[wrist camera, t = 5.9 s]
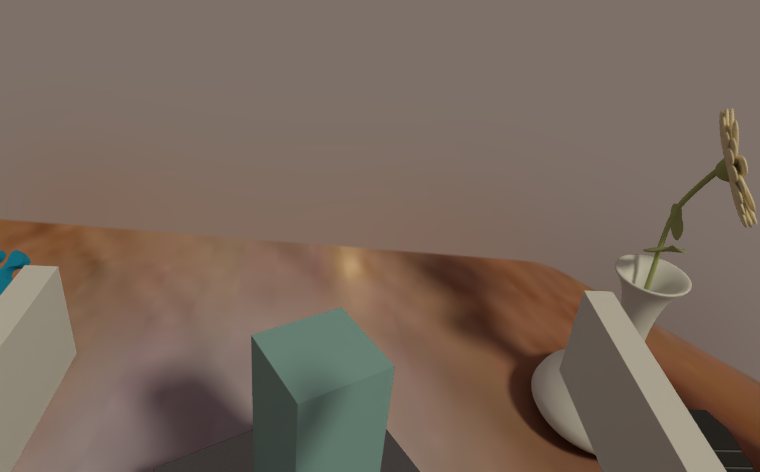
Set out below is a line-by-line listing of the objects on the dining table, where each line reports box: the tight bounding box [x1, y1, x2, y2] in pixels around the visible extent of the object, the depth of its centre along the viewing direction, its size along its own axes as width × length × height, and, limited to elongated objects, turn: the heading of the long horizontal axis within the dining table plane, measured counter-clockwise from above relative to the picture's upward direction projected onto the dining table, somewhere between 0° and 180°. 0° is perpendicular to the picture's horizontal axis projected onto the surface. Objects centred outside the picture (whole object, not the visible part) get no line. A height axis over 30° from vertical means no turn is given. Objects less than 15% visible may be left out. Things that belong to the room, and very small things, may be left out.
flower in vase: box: [531, 108, 757, 455], centre depth 43 cm, size 13×11×25 cm
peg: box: [251, 307, 395, 472], centre depth 33 cm, size 5×5×16 cm
